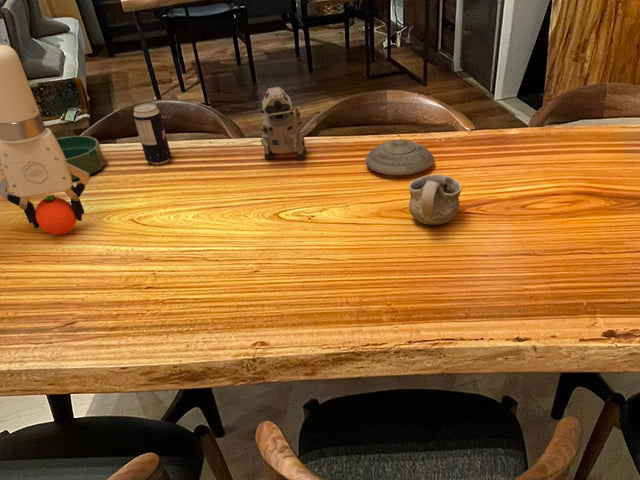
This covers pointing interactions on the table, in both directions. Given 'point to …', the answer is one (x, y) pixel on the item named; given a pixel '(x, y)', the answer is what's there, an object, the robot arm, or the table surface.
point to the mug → (434, 199)
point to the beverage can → (152, 134)
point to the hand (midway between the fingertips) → (58, 220)
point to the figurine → (281, 125)
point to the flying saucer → (399, 158)
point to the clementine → (55, 215)
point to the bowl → (82, 153)
